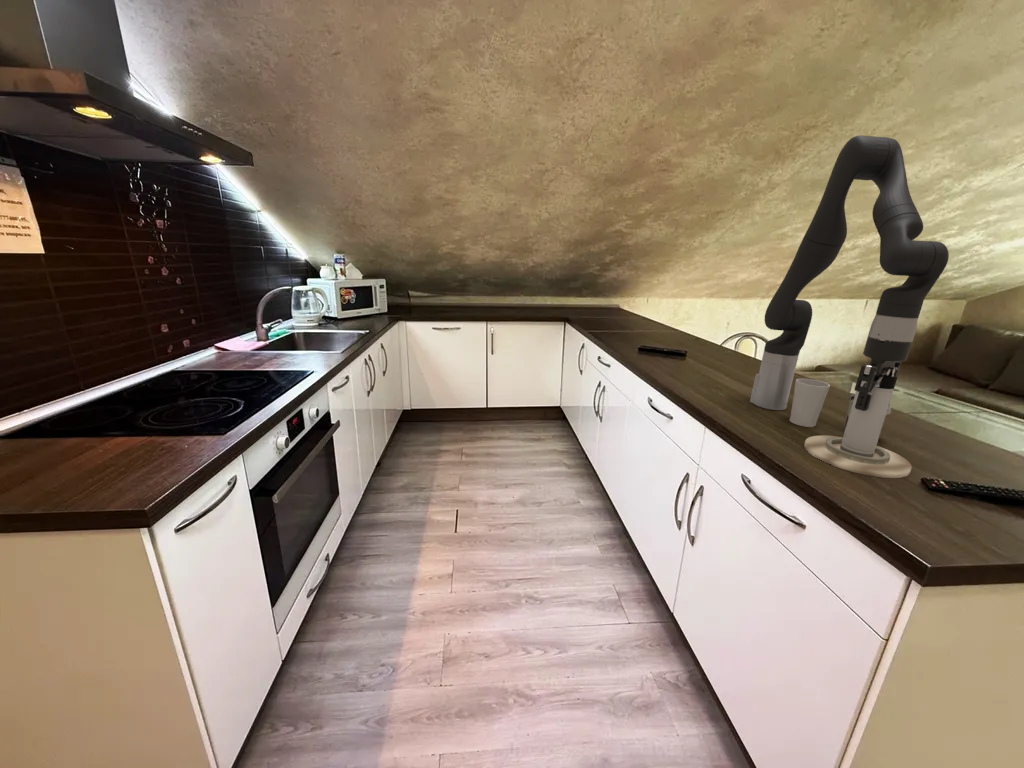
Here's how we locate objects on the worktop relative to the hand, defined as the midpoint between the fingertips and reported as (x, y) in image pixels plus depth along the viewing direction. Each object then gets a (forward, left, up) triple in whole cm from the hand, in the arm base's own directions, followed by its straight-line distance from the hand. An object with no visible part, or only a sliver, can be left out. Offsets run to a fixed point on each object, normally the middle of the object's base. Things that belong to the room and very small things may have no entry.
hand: (869, 407), depth 99 cm
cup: (-18, +13, -13) cm, 26 cm away
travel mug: (0, 0, -12) cm, 12 cm away
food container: (-5, +19, -13) cm, 23 cm away
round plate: (0, 0, -13) cm, 13 cm away
